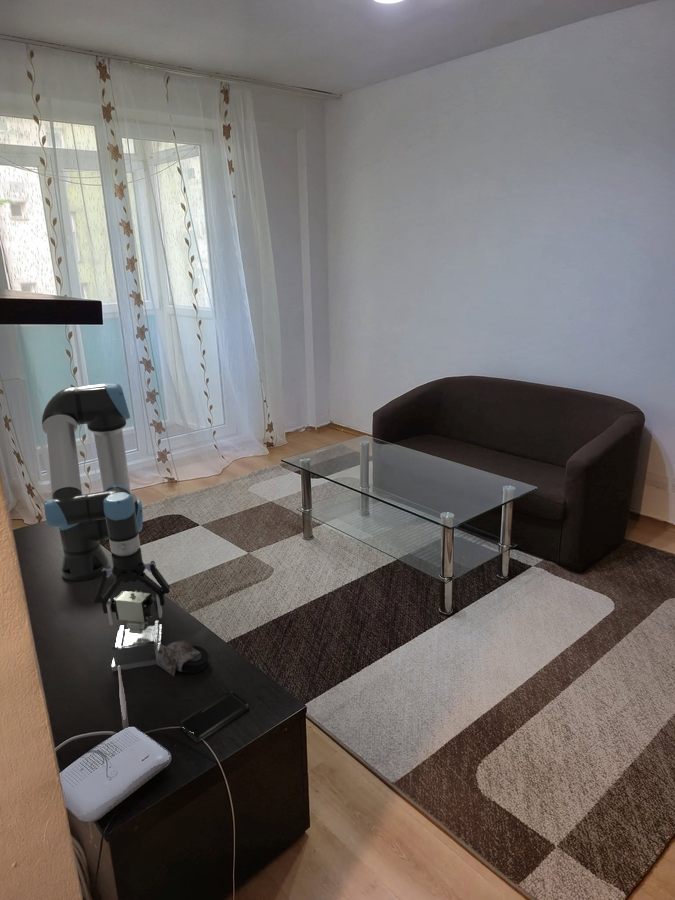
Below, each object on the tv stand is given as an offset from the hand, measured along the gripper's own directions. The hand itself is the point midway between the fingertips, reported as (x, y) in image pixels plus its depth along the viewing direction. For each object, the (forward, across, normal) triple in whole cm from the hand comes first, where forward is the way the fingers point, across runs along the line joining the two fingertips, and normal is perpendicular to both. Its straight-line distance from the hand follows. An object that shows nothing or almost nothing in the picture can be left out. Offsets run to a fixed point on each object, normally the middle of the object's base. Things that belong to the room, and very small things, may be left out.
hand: (136, 618), depth 172 cm
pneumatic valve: (+4, 0, 0) cm, 4 cm away
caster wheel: (+8, +13, -14) cm, 21 cm away
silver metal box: (+7, 0, -4) cm, 8 cm away
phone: (+8, +20, -35) cm, 41 cm away
